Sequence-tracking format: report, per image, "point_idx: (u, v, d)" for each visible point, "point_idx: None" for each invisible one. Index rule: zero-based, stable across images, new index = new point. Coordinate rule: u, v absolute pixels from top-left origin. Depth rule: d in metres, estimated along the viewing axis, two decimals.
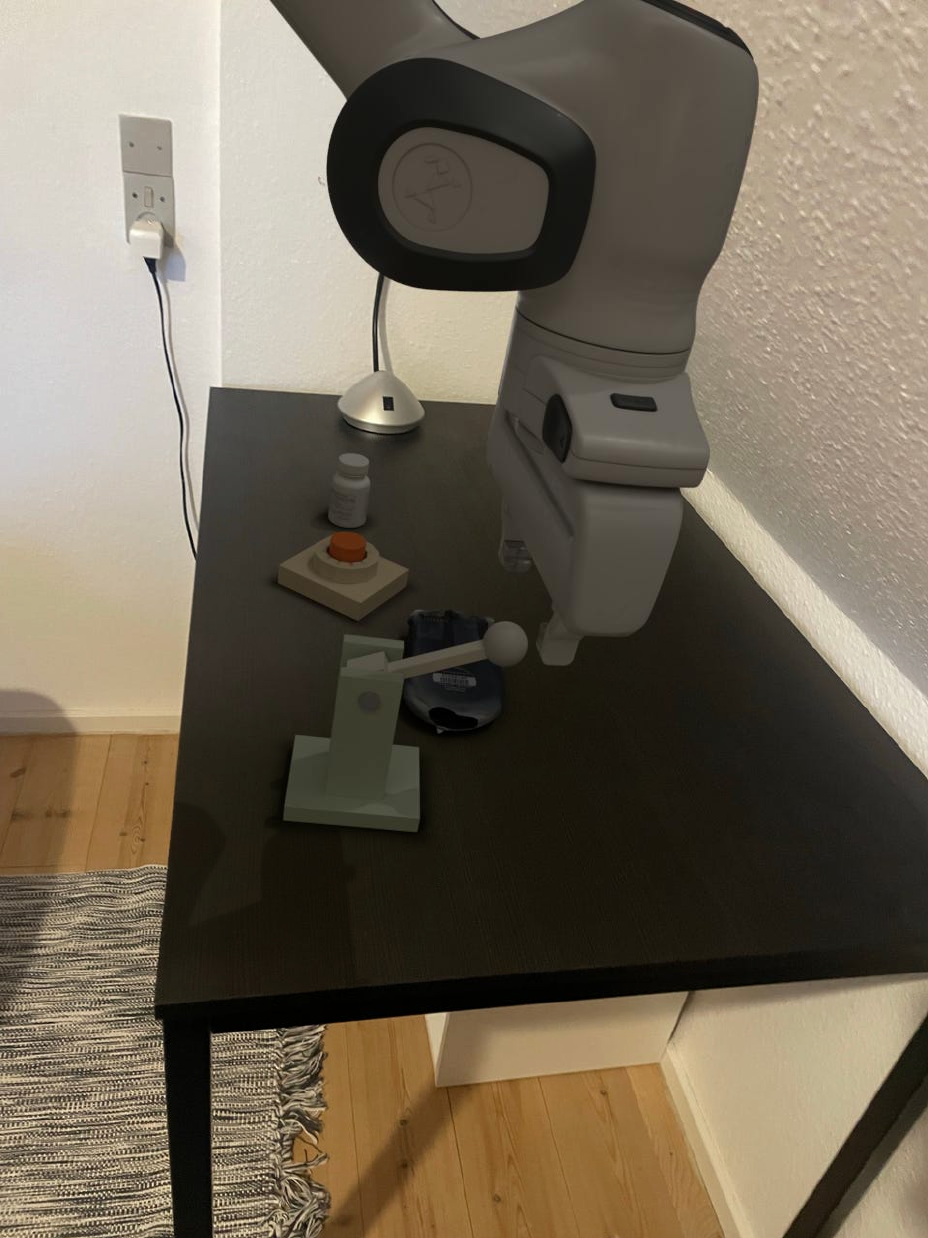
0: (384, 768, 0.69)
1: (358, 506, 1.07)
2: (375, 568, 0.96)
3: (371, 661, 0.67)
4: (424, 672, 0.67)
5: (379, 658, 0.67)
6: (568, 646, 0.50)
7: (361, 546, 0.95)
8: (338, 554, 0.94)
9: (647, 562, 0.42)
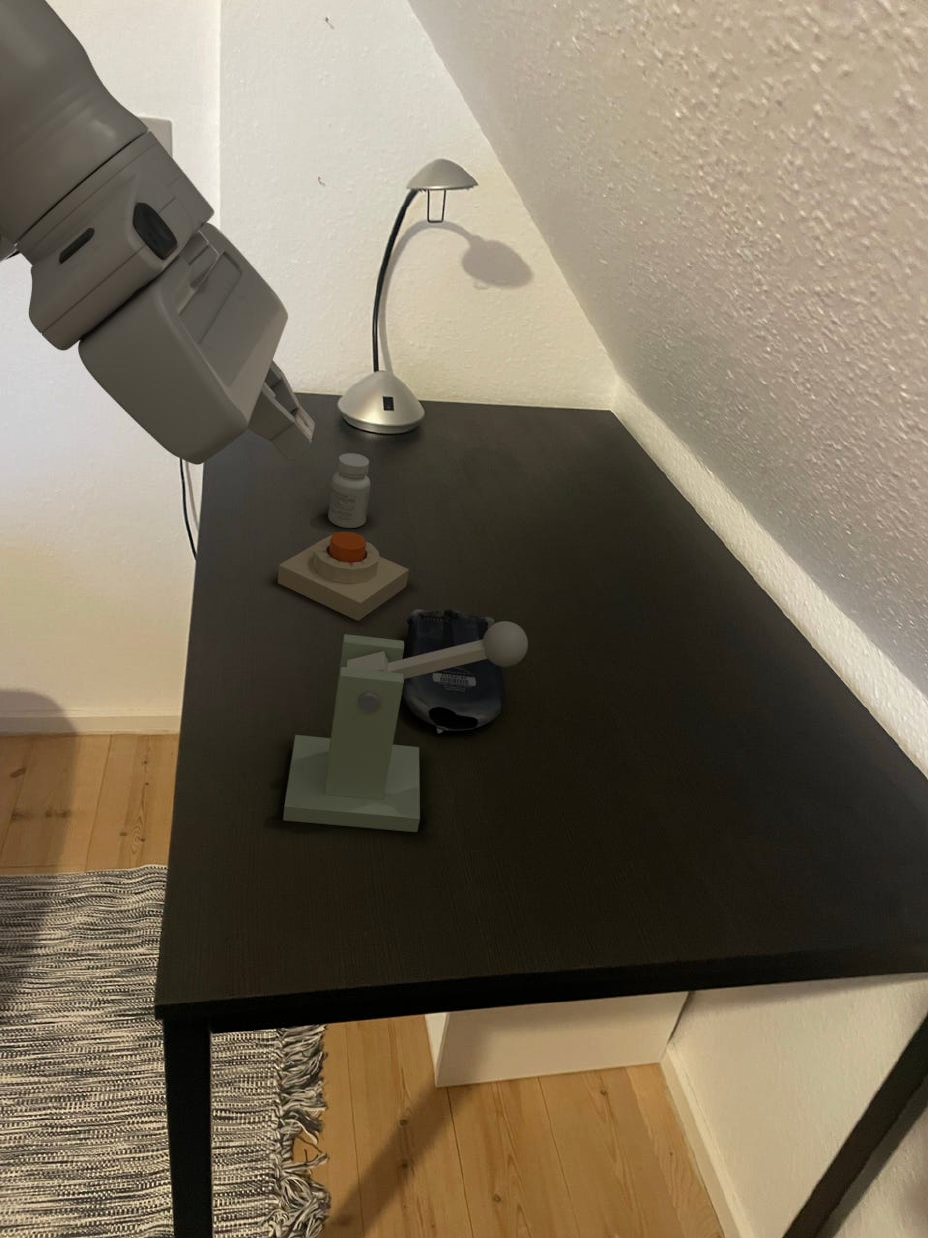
0: (384, 768, 0.69)
1: (358, 506, 1.07)
2: (375, 568, 0.96)
3: (371, 661, 0.67)
4: (424, 672, 0.67)
5: (379, 658, 0.67)
6: (292, 434, 0.53)
7: (361, 546, 0.95)
8: (338, 554, 0.94)
9: (167, 365, 0.42)
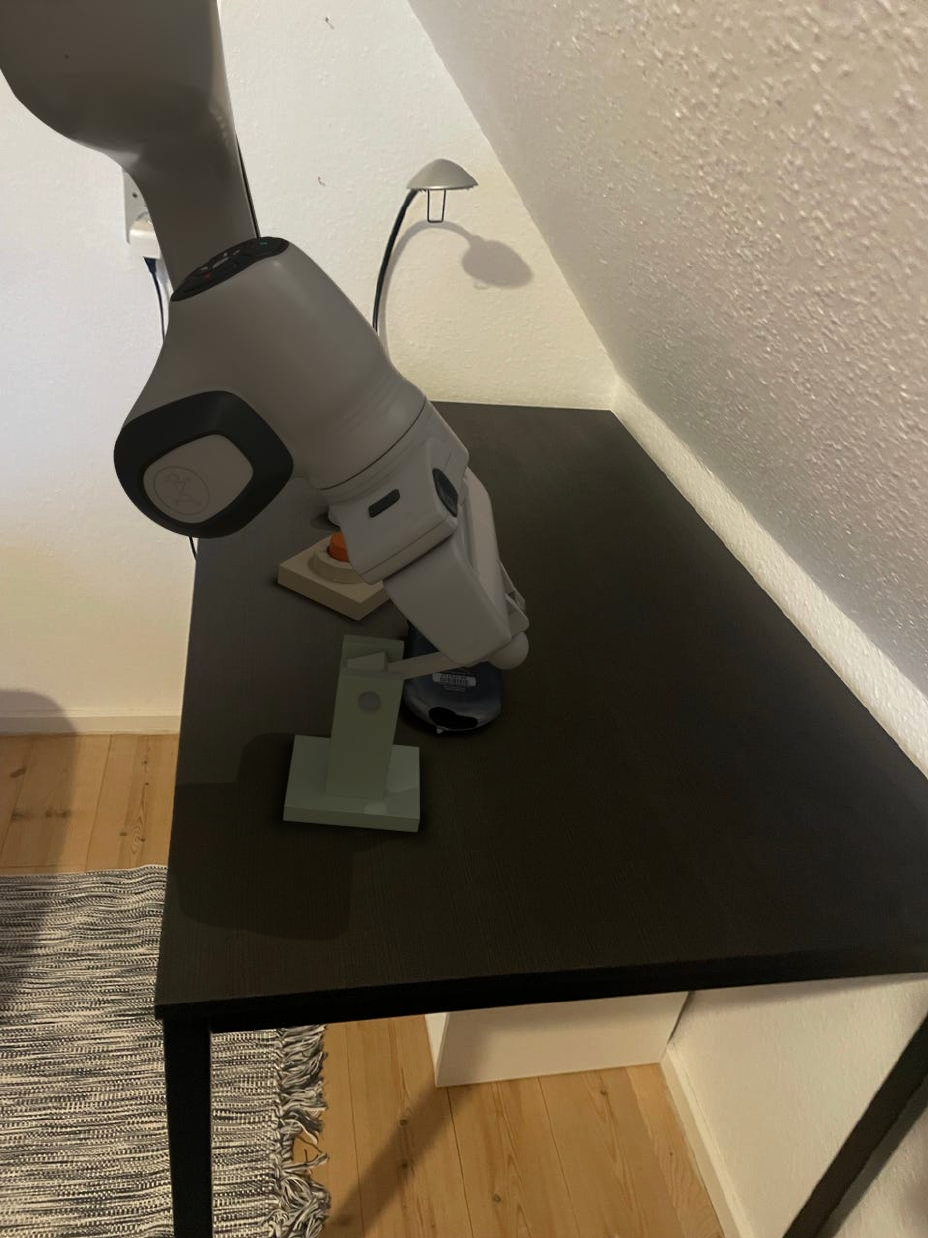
0: (384, 768, 0.69)
1: None
2: None
3: (371, 661, 0.67)
4: (424, 673, 0.67)
5: (379, 658, 0.67)
6: (515, 617, 0.64)
7: None
8: (338, 554, 0.94)
9: (460, 601, 0.53)
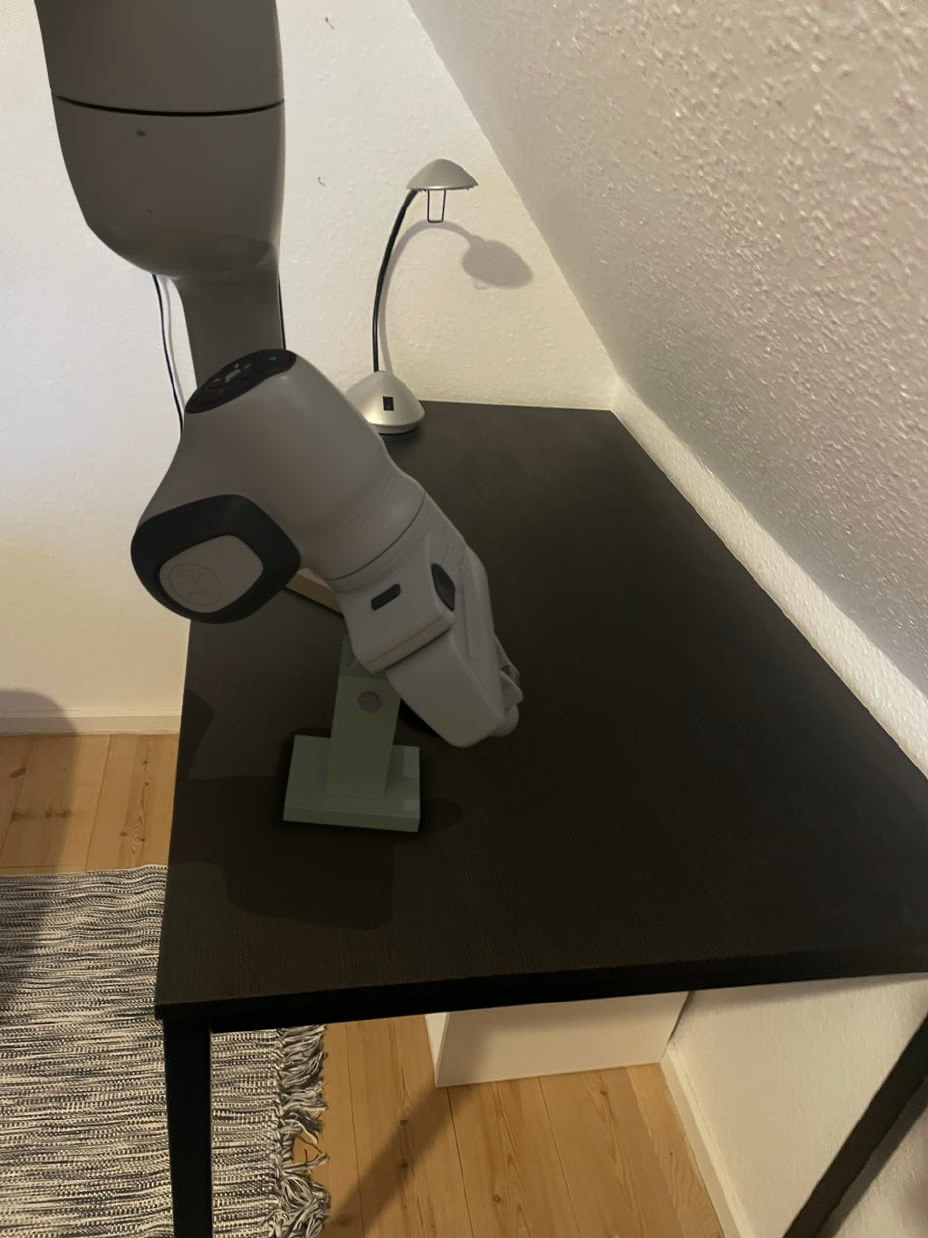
0: (384, 768, 0.69)
1: None
2: None
3: None
4: None
5: None
6: (509, 691, 0.67)
7: None
8: None
9: (457, 690, 0.56)
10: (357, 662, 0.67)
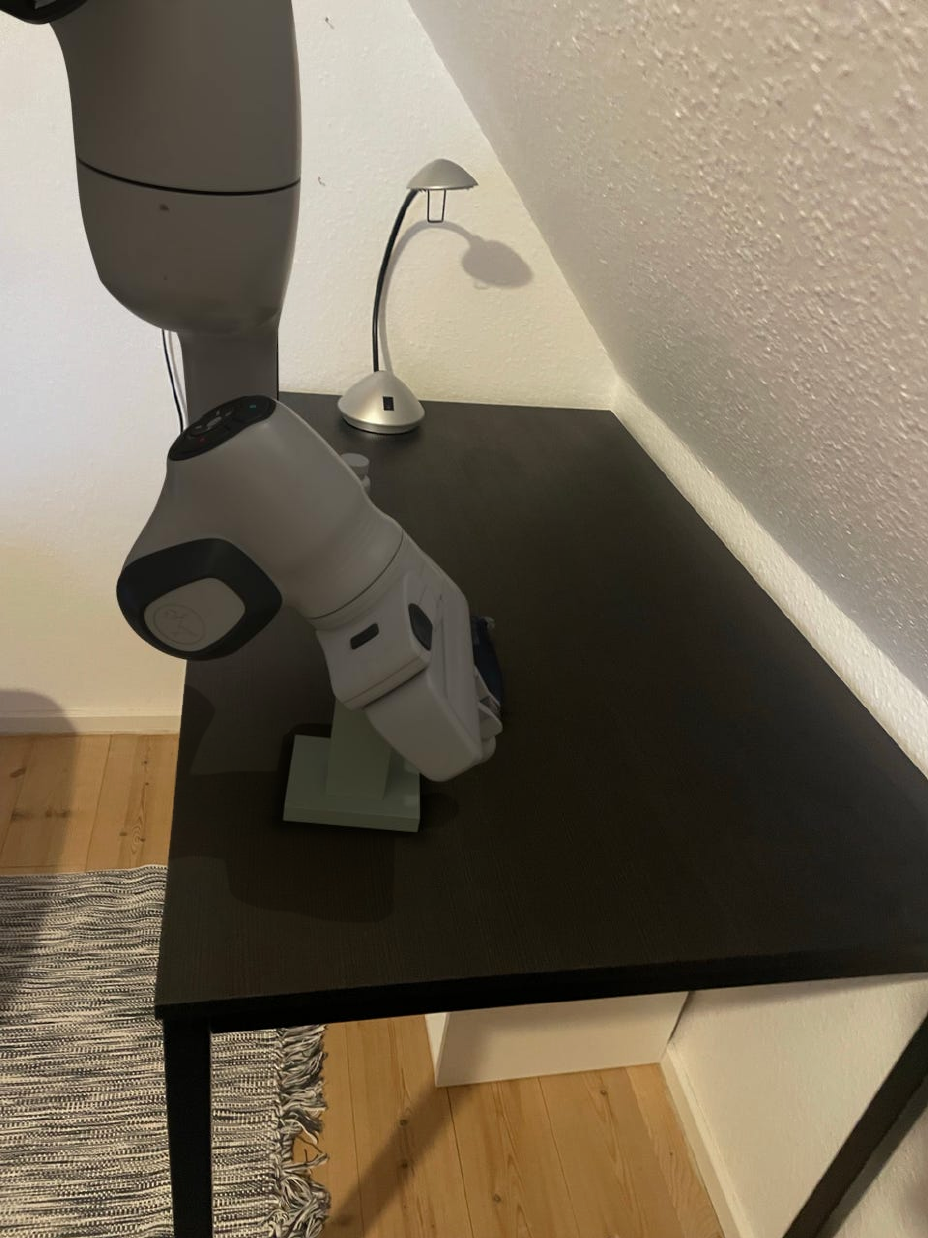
0: (384, 768, 0.69)
1: None
2: None
3: None
4: None
5: None
6: (489, 722, 0.69)
7: None
8: None
9: (434, 727, 0.58)
10: None
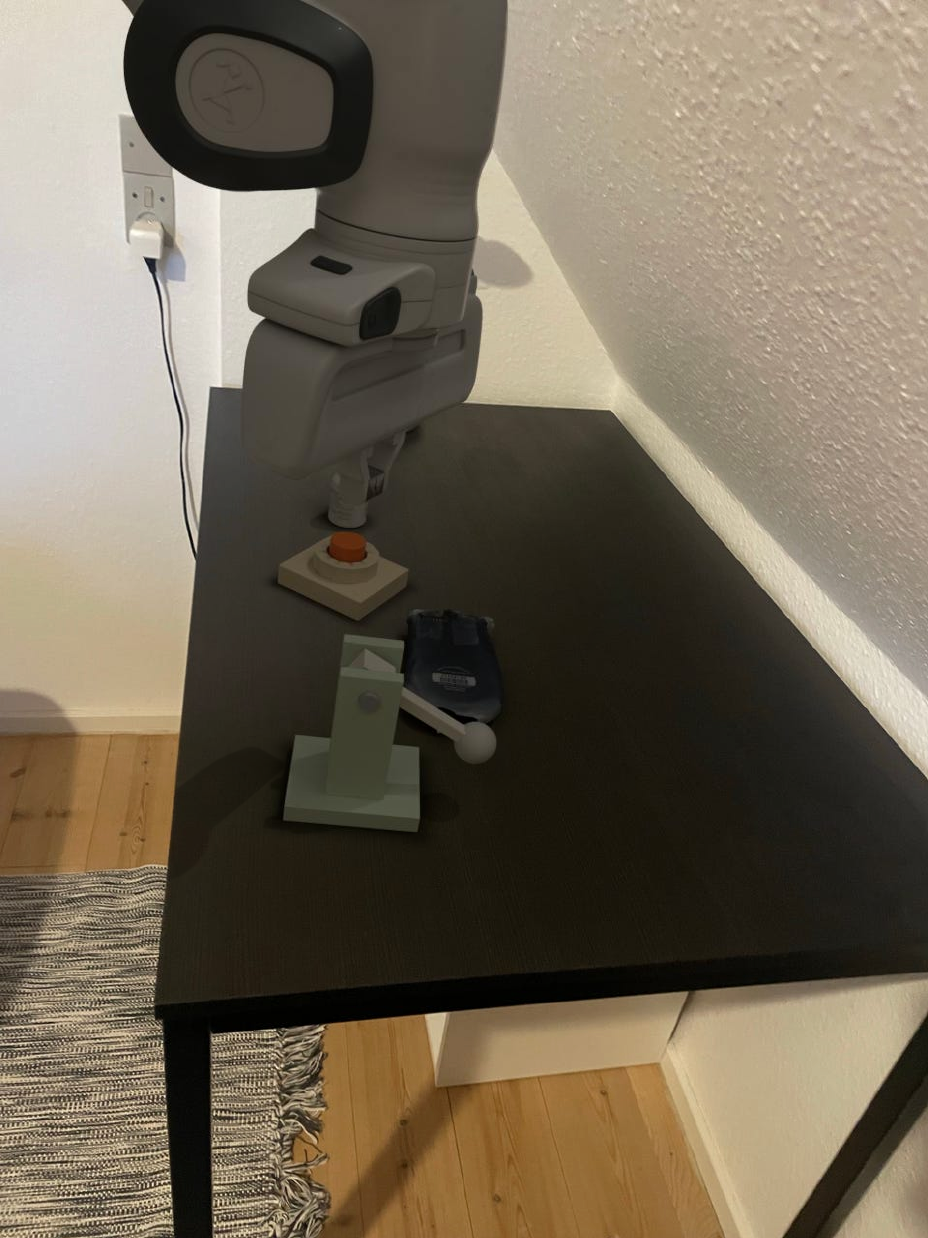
0: (384, 768, 0.69)
1: (358, 506, 1.07)
2: (375, 568, 0.96)
3: (385, 668, 0.68)
4: (410, 711, 0.69)
5: (392, 672, 0.68)
6: (356, 487, 0.58)
7: (361, 546, 0.95)
8: (338, 554, 0.94)
9: (289, 400, 0.47)
10: (364, 660, 0.66)
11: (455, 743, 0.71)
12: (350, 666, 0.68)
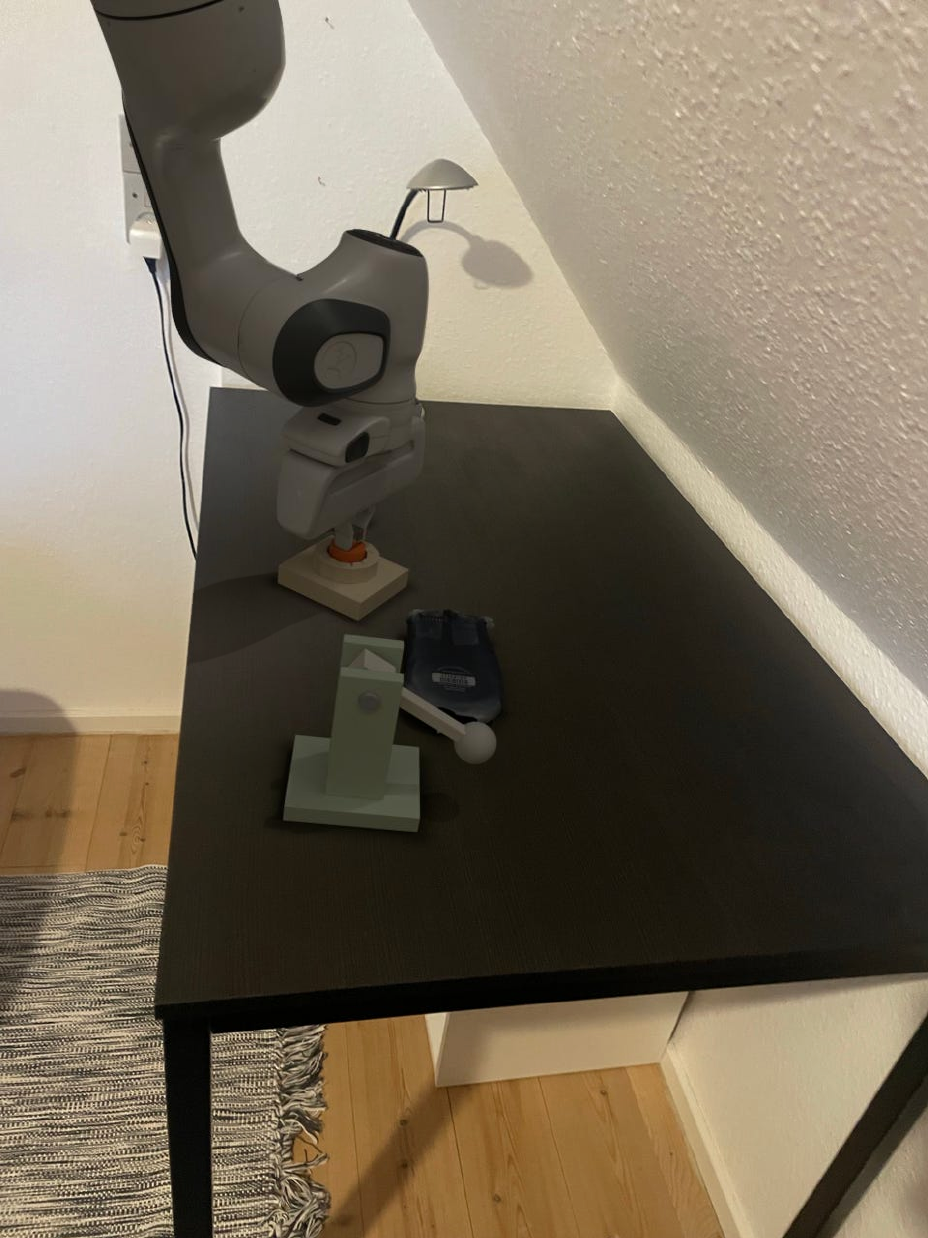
0: (384, 768, 0.69)
1: None
2: (375, 568, 0.96)
3: (385, 668, 0.68)
4: (410, 711, 0.69)
5: (392, 672, 0.68)
6: (345, 539, 0.94)
7: (360, 550, 0.95)
8: (338, 558, 0.95)
9: (305, 496, 0.83)
10: (364, 660, 0.66)
11: (455, 743, 0.71)
12: (350, 666, 0.68)
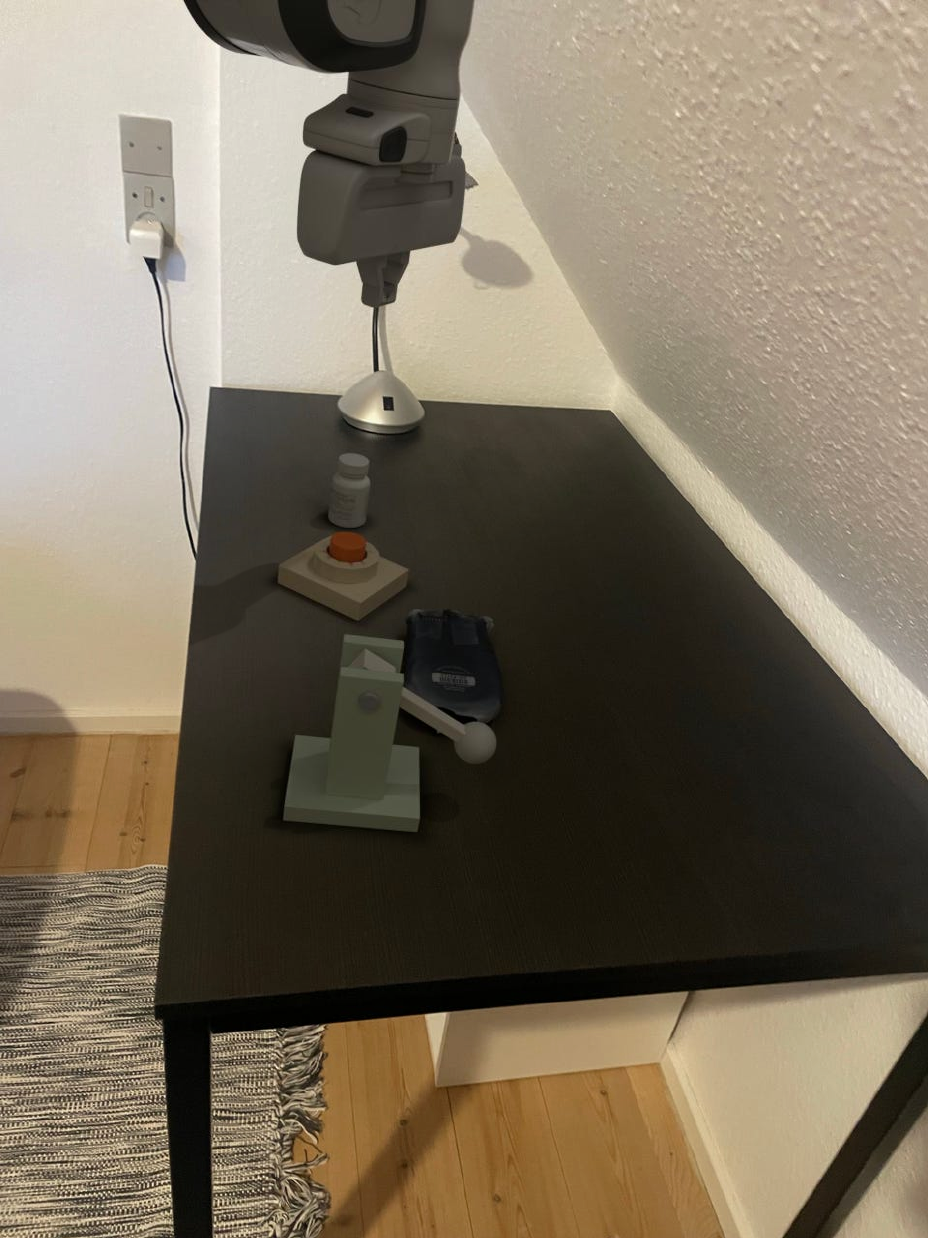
0: (384, 768, 0.69)
1: (358, 506, 1.07)
2: (375, 568, 0.96)
3: (385, 668, 0.68)
4: (410, 711, 0.69)
5: (392, 672, 0.68)
6: (374, 292, 0.81)
7: (361, 546, 0.95)
8: (338, 554, 0.94)
9: (331, 203, 0.70)
10: (364, 660, 0.66)
11: (455, 743, 0.71)
12: (350, 666, 0.68)
